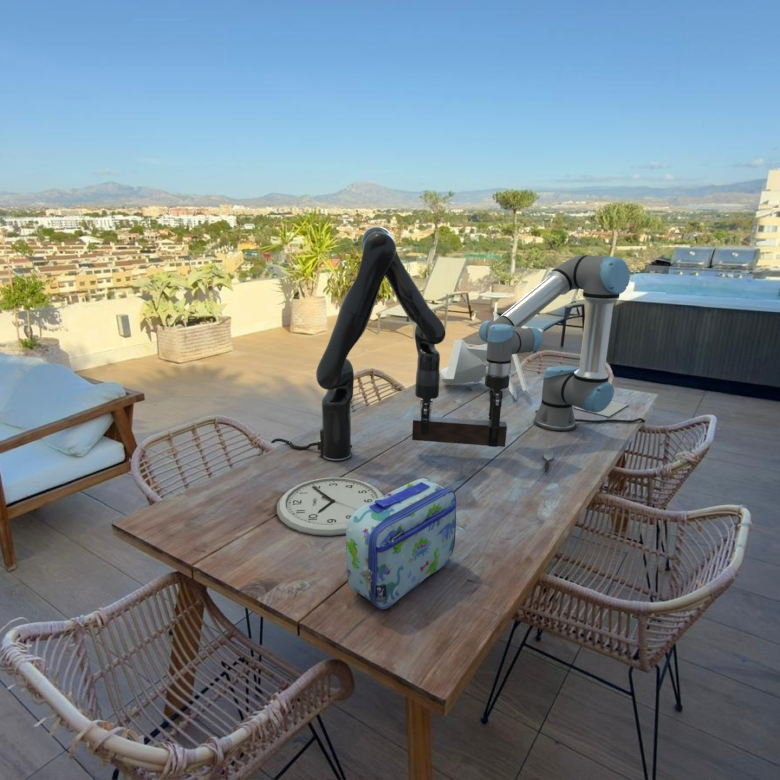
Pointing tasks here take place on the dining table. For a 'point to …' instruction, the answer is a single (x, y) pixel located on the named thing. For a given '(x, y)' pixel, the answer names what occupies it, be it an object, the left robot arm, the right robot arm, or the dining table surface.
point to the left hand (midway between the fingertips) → (424, 431)
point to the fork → (547, 459)
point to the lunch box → (400, 540)
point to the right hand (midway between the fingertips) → (492, 442)
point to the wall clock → (324, 504)
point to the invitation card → (609, 408)
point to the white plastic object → (474, 365)
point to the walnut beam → (458, 431)
